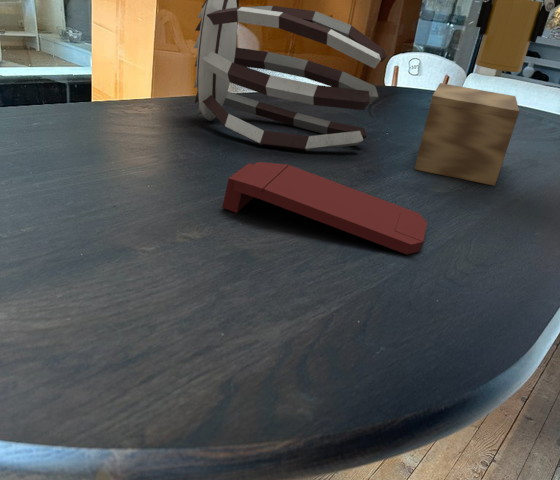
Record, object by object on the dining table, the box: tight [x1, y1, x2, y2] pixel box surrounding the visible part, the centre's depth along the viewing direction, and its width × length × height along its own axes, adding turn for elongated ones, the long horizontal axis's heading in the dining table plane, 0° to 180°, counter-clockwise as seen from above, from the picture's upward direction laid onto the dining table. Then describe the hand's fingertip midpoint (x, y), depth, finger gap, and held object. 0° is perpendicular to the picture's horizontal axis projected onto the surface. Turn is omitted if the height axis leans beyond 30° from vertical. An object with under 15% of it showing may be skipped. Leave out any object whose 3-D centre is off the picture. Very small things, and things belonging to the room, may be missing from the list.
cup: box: [475, 0, 543, 73], centre depth 87 cm, size 7×7×9 cm
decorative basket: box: [193, 0, 388, 152], centre depth 105 cm, size 24×27×35 cm
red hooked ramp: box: [222, 161, 428, 255], centre depth 76 cm, size 12×5×25 cm
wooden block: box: [414, 82, 520, 187], centre depth 106 cm, size 14×18×12 cm
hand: (506, 36), depth 88 cm, fingers closed on cup, 6 cm apart
